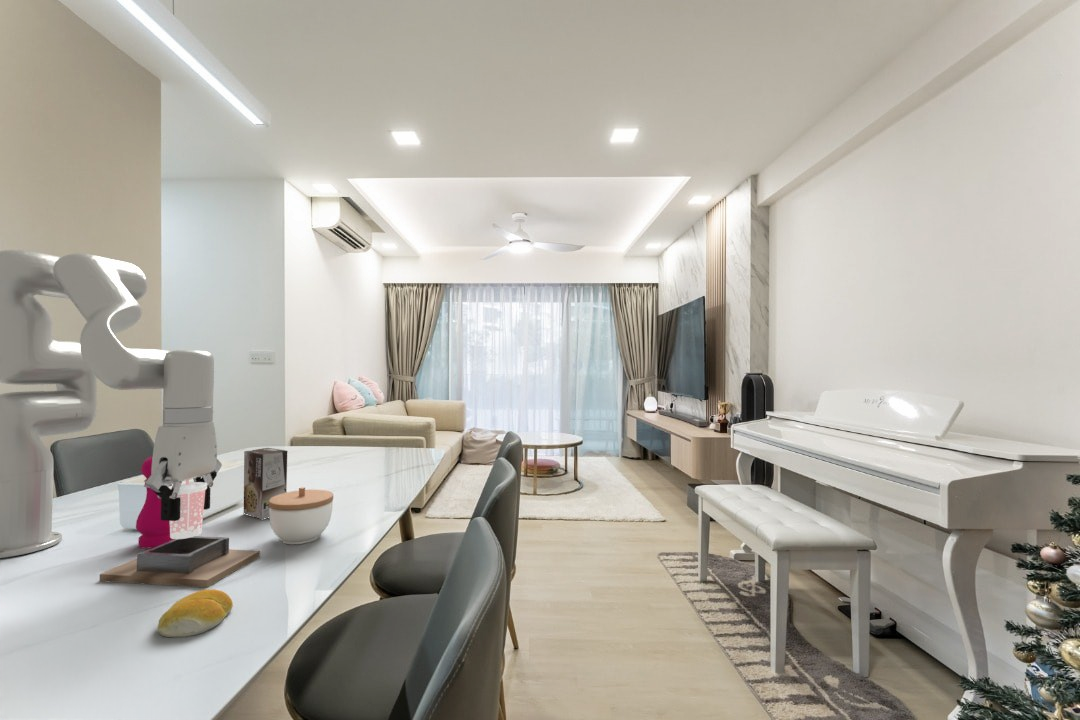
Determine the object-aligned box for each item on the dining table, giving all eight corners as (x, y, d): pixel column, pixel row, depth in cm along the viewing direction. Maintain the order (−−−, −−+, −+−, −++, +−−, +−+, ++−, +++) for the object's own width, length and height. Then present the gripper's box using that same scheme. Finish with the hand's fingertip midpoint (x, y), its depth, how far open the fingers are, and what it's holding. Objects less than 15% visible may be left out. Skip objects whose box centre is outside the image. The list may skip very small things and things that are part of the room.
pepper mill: (154, 550, 96) (157, 451, 96) (125, 547, 97) (128, 449, 97) (188, 538, 103) (190, 445, 103) (160, 535, 104) (163, 444, 104)
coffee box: (287, 514, 120) (288, 450, 121) (261, 520, 115) (262, 454, 115) (267, 508, 125) (269, 446, 125) (241, 514, 120) (243, 450, 120)
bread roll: (239, 604, 75) (239, 579, 75) (214, 635, 66) (215, 606, 66) (179, 610, 73) (179, 583, 73) (145, 642, 64) (146, 612, 64)
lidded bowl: (253, 546, 99) (254, 492, 99) (297, 526, 111) (298, 479, 111) (304, 552, 96) (306, 497, 96) (344, 531, 108) (345, 483, 108)
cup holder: (99, 581, 82) (100, 556, 82) (165, 552, 95) (166, 531, 95) (207, 587, 80) (207, 562, 80) (259, 556, 93) (260, 535, 93)
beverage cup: (204, 527, 92) (206, 454, 92) (207, 535, 87) (209, 459, 87) (164, 533, 88) (166, 458, 88) (165, 543, 83) (167, 463, 84)
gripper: (206, 412, 97) (204, 500, 97) (125, 421, 80) (122, 529, 79) (240, 412, 96) (239, 502, 96) (166, 422, 79) (164, 530, 79)
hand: (186, 513), depth 88 cm, fingers closed on beverage cup, 6 cm apart
